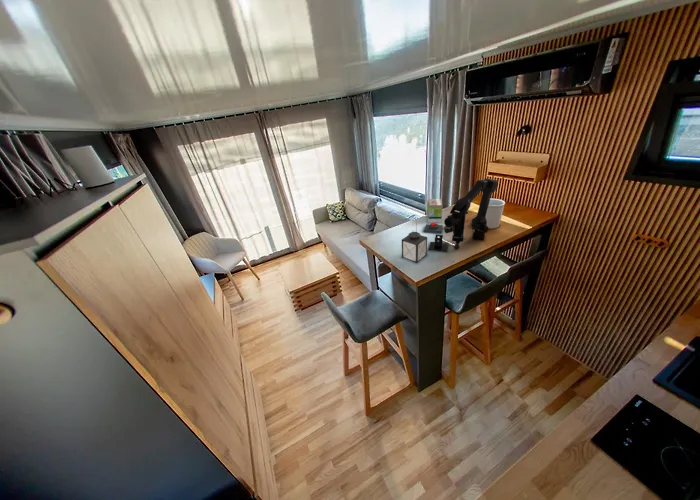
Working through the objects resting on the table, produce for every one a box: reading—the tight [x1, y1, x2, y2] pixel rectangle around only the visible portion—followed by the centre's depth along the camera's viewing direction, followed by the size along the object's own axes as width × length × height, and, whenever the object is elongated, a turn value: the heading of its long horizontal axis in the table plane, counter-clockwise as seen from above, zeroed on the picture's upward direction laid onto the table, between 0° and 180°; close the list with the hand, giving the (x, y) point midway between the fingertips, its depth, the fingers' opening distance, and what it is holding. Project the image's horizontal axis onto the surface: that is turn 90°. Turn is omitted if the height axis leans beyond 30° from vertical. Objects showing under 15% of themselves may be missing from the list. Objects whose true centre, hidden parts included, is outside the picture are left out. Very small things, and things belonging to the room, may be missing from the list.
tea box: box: [426, 198, 443, 224], centre depth 199 cm, size 15×10×15 cm
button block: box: [423, 223, 444, 234], centre depth 185 cm, size 12×10×4 cm
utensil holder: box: [485, 197, 506, 229], centre depth 179 cm, size 15×15×18 cm
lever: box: [437, 236, 460, 250], centre depth 160 cm, size 15×3×3 cm, turn 68°
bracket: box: [428, 234, 449, 253], centre depth 163 cm, size 11×10×8 cm
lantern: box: [401, 214, 428, 264], centre depth 152 cm, size 11×11×28 cm
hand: (457, 244), depth 159 cm, fingers closed, pressing on lever
